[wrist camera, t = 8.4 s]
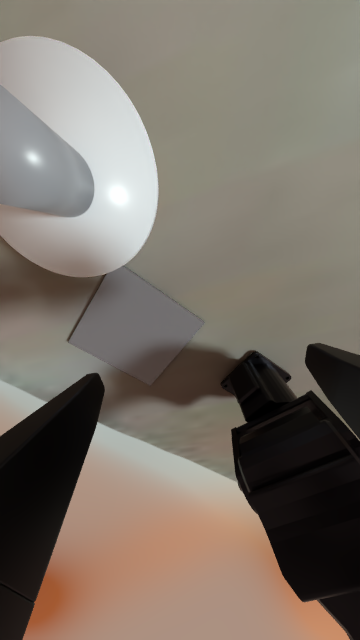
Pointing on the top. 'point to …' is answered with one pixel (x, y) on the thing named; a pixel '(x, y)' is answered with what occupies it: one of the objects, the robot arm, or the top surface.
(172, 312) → the mat
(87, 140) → the lid
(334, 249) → the top surface
